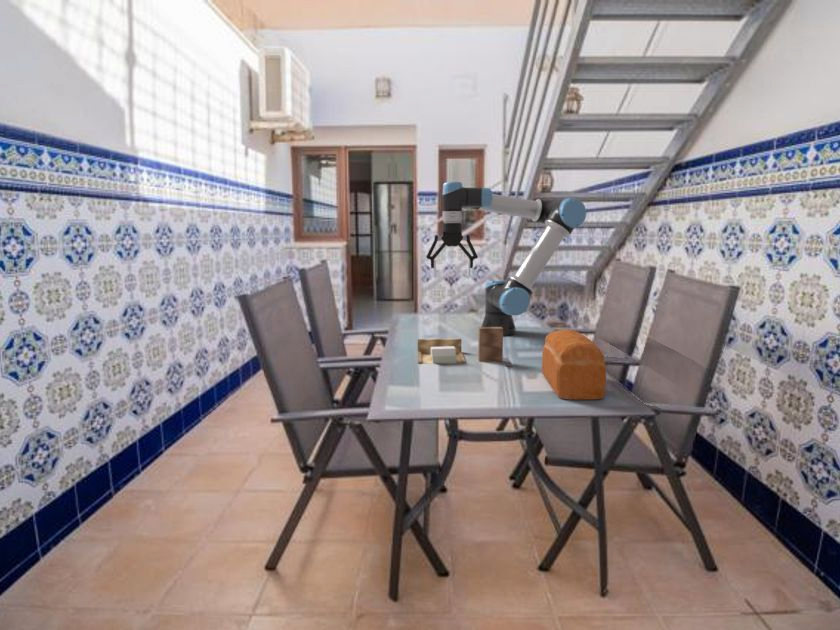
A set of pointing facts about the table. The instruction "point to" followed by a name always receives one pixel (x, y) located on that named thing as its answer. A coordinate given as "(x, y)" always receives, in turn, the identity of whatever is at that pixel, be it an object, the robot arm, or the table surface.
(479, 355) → the walnut board
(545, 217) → the robot arm
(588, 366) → the bread
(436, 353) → the offcut upper
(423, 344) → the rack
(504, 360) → the rubber mat
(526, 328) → the table surface
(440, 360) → the offcut lower
